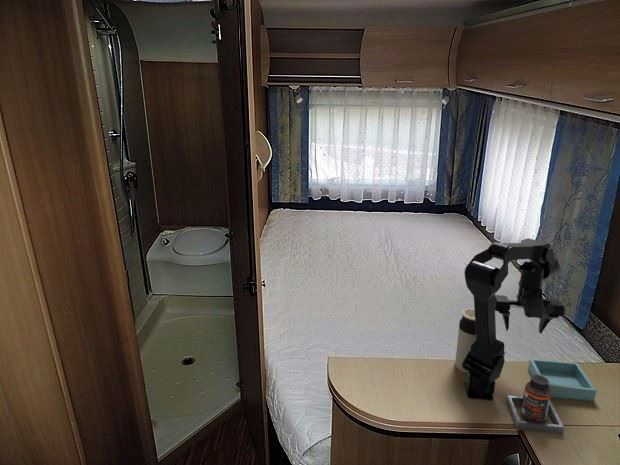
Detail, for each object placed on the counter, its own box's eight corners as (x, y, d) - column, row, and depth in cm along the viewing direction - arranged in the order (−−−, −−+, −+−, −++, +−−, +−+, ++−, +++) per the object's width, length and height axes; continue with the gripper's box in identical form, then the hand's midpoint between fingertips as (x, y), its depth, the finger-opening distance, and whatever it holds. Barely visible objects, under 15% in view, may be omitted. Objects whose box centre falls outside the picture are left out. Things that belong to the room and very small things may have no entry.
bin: (541, 397, 121) (543, 385, 120) (527, 370, 133) (529, 358, 132) (593, 403, 119) (596, 390, 118) (574, 374, 131) (577, 362, 130)
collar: (516, 429, 110) (517, 422, 109) (506, 401, 120) (507, 395, 119) (563, 434, 108) (564, 427, 107) (548, 405, 118) (549, 399, 117)
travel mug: (464, 377, 130) (471, 321, 125) (449, 362, 138) (455, 309, 132) (488, 372, 132) (495, 318, 127) (472, 358, 140) (478, 306, 134)
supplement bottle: (520, 421, 113) (526, 382, 109) (520, 406, 118) (526, 369, 114) (546, 428, 110) (553, 389, 107) (545, 413, 115) (552, 375, 112)
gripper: (502, 292, 121) (495, 342, 126) (577, 297, 118) (567, 348, 123) (494, 276, 132) (488, 323, 136) (562, 280, 128) (553, 329, 133)
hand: (523, 331), depth 132 cm, fingers open, 9 cm apart
